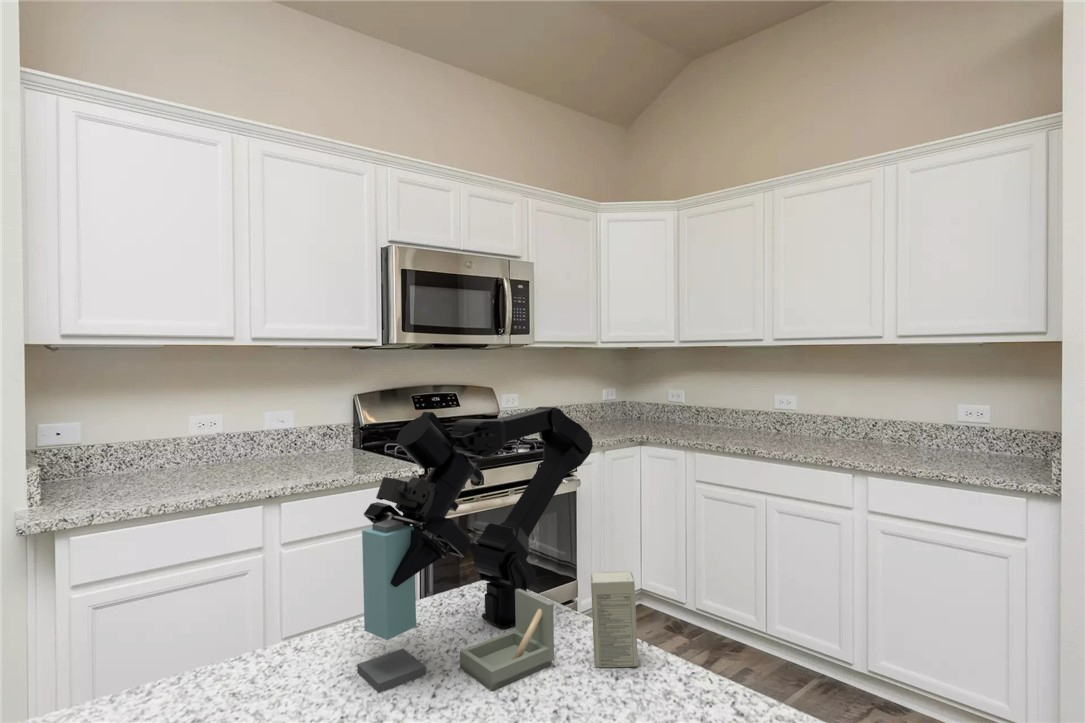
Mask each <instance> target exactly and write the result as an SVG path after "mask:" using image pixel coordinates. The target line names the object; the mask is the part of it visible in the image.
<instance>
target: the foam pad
mask: <svg viewBox="0 0 1085 723" xmlns="http://www.w3.org/2000/svg"><path fill="white" fill-rule="evenodd" d="M356 665H357V667H356V668H357V674H358V675H359V676H360V677H362V679H364V680H365V681H366V683H368V685H369V686H371V687H372V688H373V689H374V690H375V691H376V692H377V693H379V694H380V693H383V692H386V691H388V690H390V689H393V688H396V687H398V686H400V685H404V684H406V683H408V682H409V683H410V682H411V681H414V680H416V679H419V678H422V677H424V676H427V665H426V664H425V663H423V662H422V661H420V660H419V659H417V658H416V657H415V656H414V655H412V654H411V653H409V652H408V650H406V649H404V648H400V649H397V650H395V651H392V652H389V653H386V654H384V655H379V656H377V657H374V658H371V659H367V660H365V661H363V662H362V661H361V662H360V663H357V664H356Z"/></svg>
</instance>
